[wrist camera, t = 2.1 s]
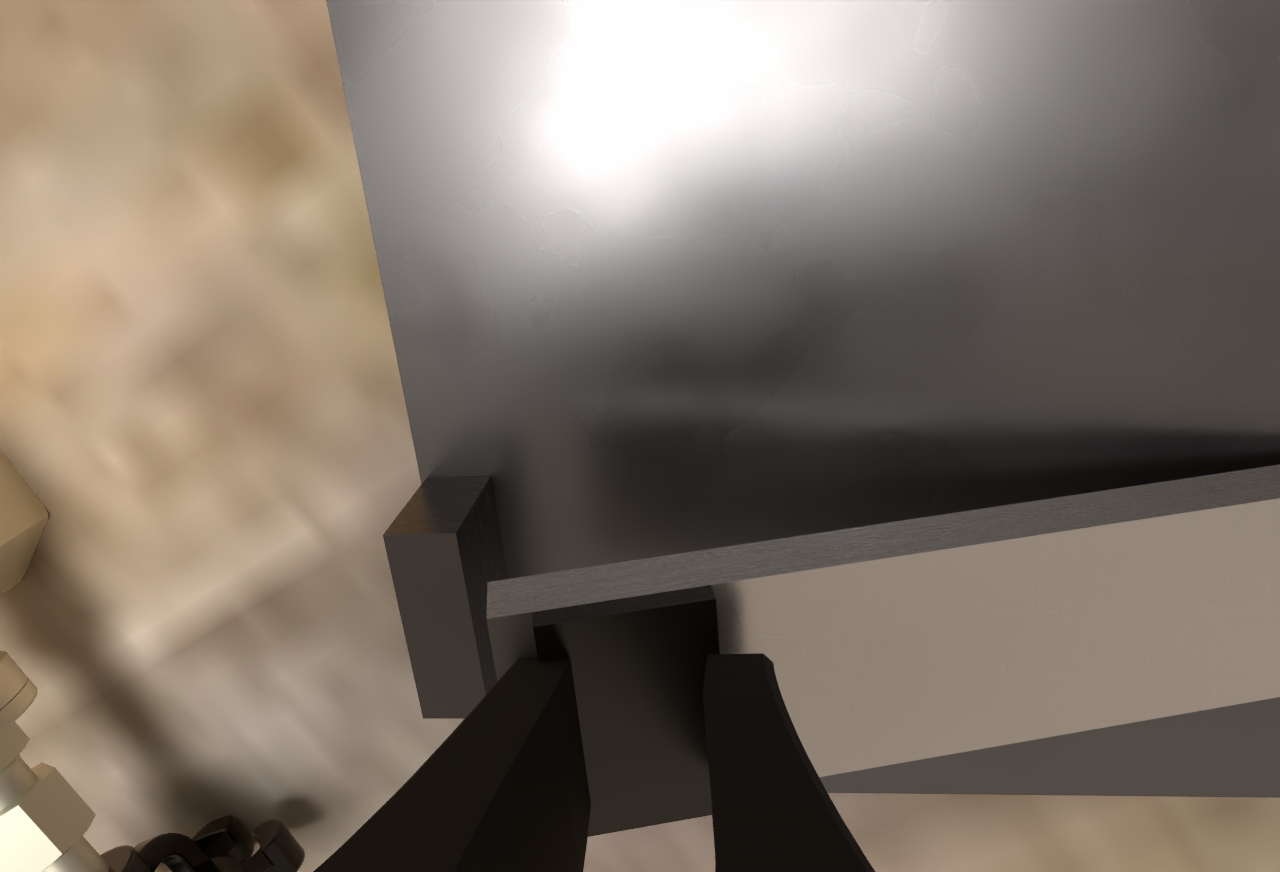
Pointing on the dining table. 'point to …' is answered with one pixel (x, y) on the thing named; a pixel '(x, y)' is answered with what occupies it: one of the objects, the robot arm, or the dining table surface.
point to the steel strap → (915, 632)
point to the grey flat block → (817, 295)
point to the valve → (46, 803)
